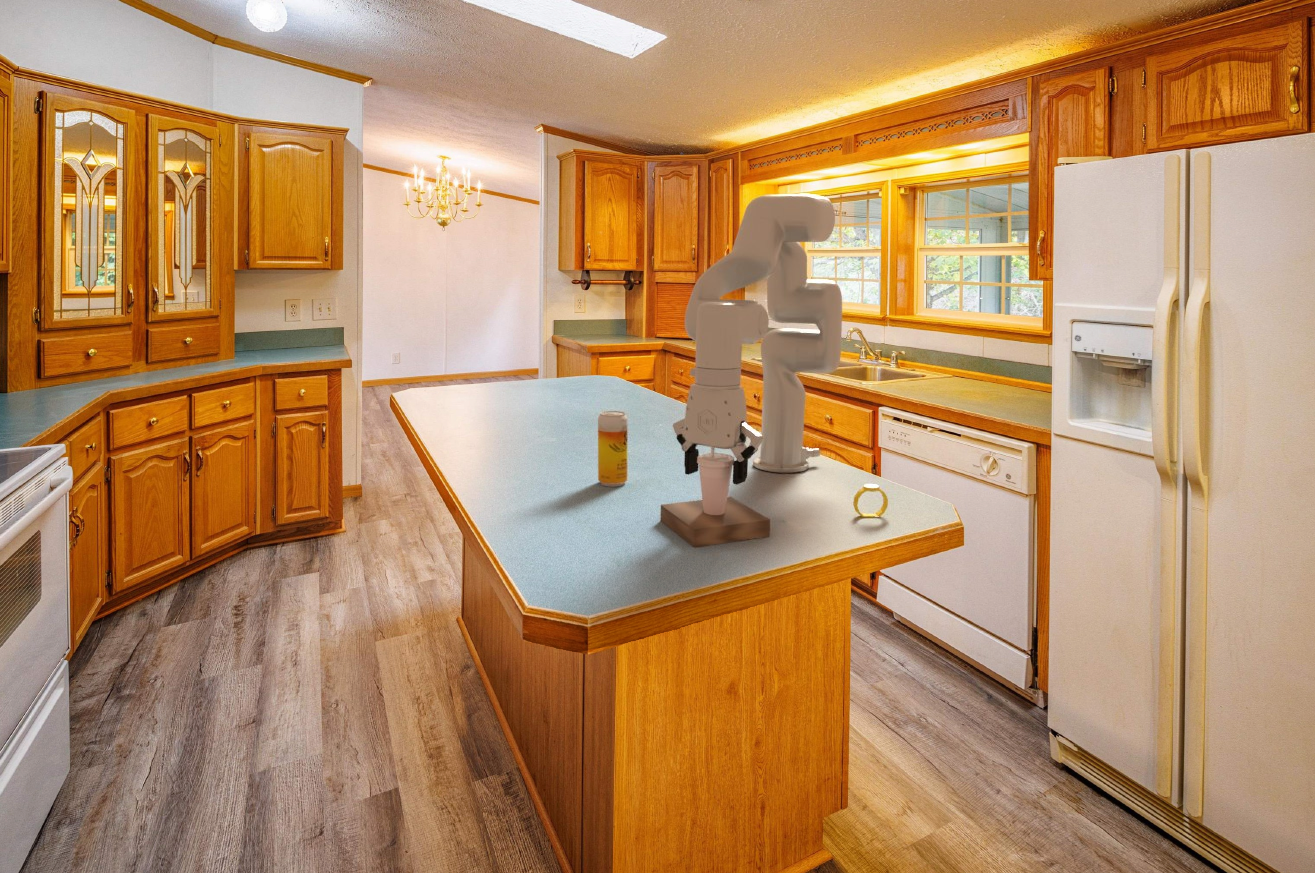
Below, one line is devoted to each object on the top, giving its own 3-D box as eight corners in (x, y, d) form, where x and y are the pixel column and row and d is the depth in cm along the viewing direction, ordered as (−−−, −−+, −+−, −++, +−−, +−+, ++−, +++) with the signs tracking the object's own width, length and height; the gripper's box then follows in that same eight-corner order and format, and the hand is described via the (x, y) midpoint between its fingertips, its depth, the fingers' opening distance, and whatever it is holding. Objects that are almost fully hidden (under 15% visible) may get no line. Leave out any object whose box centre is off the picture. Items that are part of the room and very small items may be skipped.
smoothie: (693, 506, 128) (695, 428, 125) (729, 505, 129) (732, 428, 126) (698, 517, 122) (700, 436, 119) (736, 517, 122) (739, 436, 119)
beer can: (623, 488, 150) (623, 416, 146) (594, 486, 151) (594, 415, 148) (630, 480, 155) (630, 411, 152) (602, 478, 157) (602, 410, 153)
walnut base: (730, 512, 135) (730, 496, 134) (769, 536, 122) (770, 519, 122) (660, 520, 130) (660, 504, 129) (694, 547, 117) (694, 529, 116)
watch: (856, 520, 132) (856, 489, 131) (851, 515, 135) (851, 484, 134) (889, 518, 132) (889, 486, 131) (883, 513, 135) (883, 482, 134)
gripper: (662, 375, 123) (661, 473, 126) (751, 385, 112) (747, 491, 116) (688, 371, 128) (686, 465, 132) (775, 380, 118) (770, 482, 122)
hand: (714, 477), depth 124 cm, fingers open, 9 cm apart
